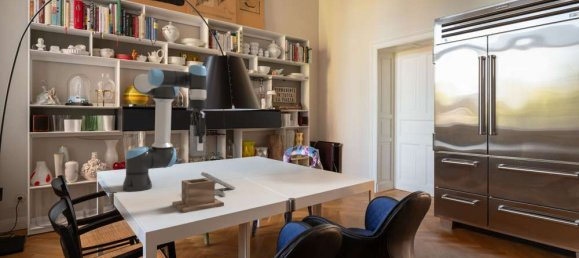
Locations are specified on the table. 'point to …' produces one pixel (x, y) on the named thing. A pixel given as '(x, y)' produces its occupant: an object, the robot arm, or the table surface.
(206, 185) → the brown wooden stand
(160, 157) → the robot arm
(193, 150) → the steel bracket
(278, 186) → the table surface
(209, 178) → the door handle
